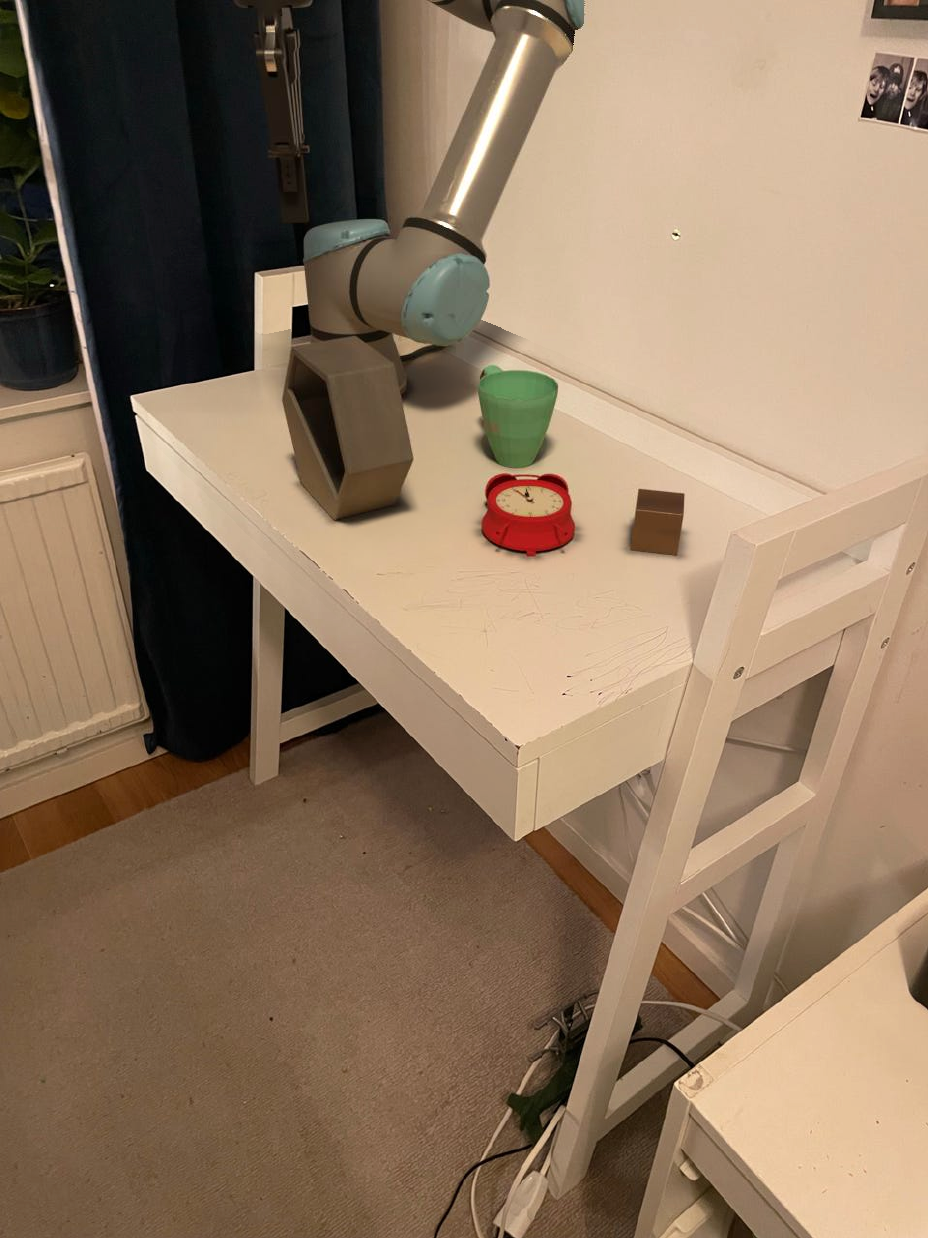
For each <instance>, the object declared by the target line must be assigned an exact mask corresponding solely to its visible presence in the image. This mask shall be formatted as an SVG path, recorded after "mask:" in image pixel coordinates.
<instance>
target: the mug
mask: <svg viewBox="0 0 928 1238" xmlns="http://www.w3.org/2000/svg"><path fill="white" fill-rule="evenodd" d="M477 383H478V384H477V395H478V401H479V406H480V413H481V417H482V421H483V427H484V429H485V432H486V436H487V440H488V443H489V445H490V448H491V451H492V453H493V455H494V458H495V461H496V463H497V464H499V465H501V466H502V467H505V468H511V469H512V468H513V469H520V468H525V467H529V466H531V465H532V464H533V462H534V461H535V459H536V458H537V455H538V453H539V451H540V449H541V447H542V445H543V442H544V440H545V438H546V435H547V432H548V429H549V428H550V427H549V426H550V424H551V420H552V417H553V413H554V409H555V406H556V402H557V398H558V392H559V383H558V382H557V381H556V379H554V378H552V377H551V376H549V375H547V374H545V373H541V372H538V371H531V370H523V369H508V370H503V369H502V368H501V367H499V365H496V364H490V365H488V366H485V367H484V368H483V369H482V371H481V373H480V376H479V380H478V382H477Z"/></svg>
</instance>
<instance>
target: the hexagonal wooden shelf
mask: <svg viewBox="0 0 928 1238" xmlns="http://www.w3.org/2000/svg"><path fill="white" fill-rule="evenodd" d="M289 352H290V353H289V358H288V364H287V369H286V375H285V381H284V386H283V393H282V398H281V402H282V406H283V411H284V415H285V419H286V424H287V428H288V433H289V436H290V441H291V446H292V449H293V454H294V458H295V462H296V467H297V472H298V475H299V480H300V484H301V485H302V486H303V487H304V489H305V490H306V491H307V492H308V493H309V494H310V495H311V496H312V497H313V499H314V500H315V501H316V502H317V503H318V504H319V505H320V506H321V508H323V510H324V511H325V512H326V513H327V514H328V515H329V516H330V518H332V520H334V521H335V520H339V519H344V518H348V517H352V516H355V515H360V514H363V513H367V512H371V511H375V510H379V509H383V508H387V507H391V506H394V505H395V504H396V503H397V500H398V498H399V495H400V493H401V491H402V488H403V487H404V484H405V481H406V479H407V477H408V475H409V471H410V469H411V467H412V465H413V462H414V454H413V449H412V444H411V439H410V434H409V433H410V432H409V429H408V425H407V419H406V415H405V414H406V413H405V409H404V405H403V399H402V395H401V394H400V389H399V384H398V379H397V374H396V369H395V365H394V363H393V362H391V361H390V360H388V359H387V358H386V357H384V356H383V355H381V354H380V353H379V352H377V351H376V350H374V349H373V348H372V347H370V346H369V345H368V344H366V343H365V342H363V341H362V340H361V339H359V338H358V337H356V336H351V337H345V338H340V339H334V340H328V341H322V342H316V343H310V342H309V343H305V344H298V345H293V346H291V348H290V351H289Z"/></svg>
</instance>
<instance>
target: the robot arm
mask: <svg viewBox="0 0 928 1238" xmlns="http://www.w3.org/2000/svg"><path fill="white" fill-rule="evenodd" d="M233 1H234V4H235V5H236V6H237V7H239V8H243V9H244V8H245V9H257V11H258V29H257V30H254V31H253V39H254V47H255V54H254V55H255V59H256V62H257V67H258V71H259V75H260V82H261V89H262V96H263V102H264V108H265V115H266V122H267V129H268V136H269V150H267V154H266V155H267V158H268V159H269V158H275V166H276V167H275V168H276V176H277V184H278V194H279V204H280V213H281V222H282V224H296V223H297V224H307V223H308V222H309V221H310V217H309V215H310V214H309V205H308V194H307V185H306V184H307V183H306V172H305V163H304V161H305V160H304V154H308V153H310V145H309V144H308V145H304V143H305V134H304V125H303V108H302V94H301V93H302V91H301V67H300V56H299V55H300V54H299V53H300V51H299V49H300V47H301V38H300V30H299V28H294V27H293V21H292V20H293V19H292V13H291V10H290V9H296V8H299V9H300V8H307V7H310V6H311V5H312V3H313V0H233ZM427 1H428V2H429V3H431V4H433V5H435V6H436V7H438V8H440V9H442V10H443V11H445V12H446V13H449V14H450V15H453V16H454V17H456V18H458V19H460V20H462V21H463V22H465V23H467V24H469V25H471V26H474V27H476V28H478V29H481V30H483V31H486V32H490V33H492V34H493V36H494V39H495V40H494V42H493V44H492V47H491V49H490V52H489V54H488V56H487V58H486V61H485V63H484V65H483V68H482V70H481V72H480V75H479V77H478V79H477V82H476V84H475V86H474V89H473V92H472V93H471V96H470V98H469V100H468V103H467V105H466V107H465V110H464V112H463V115H462V116H461V119H460V121H459V124H458V126H457V129H456V131H455V133H454V136H453V138H452V140H451V142H450V145H449V147H448V150H447V152H446V154H445V156H444V159H443V162H442V164H441V166H440V168H439V170H438V173H437V175H436V177H435V180H434V182H433V185H432V187H431V189H430V192H429V194H428V196H427V198H426V201H425V202H424V206H423V208H422V210H420V211H418V212H415V213H412V214H410V215H407V216H406V218H405V220H404V222H403V224H402V227H401V229H400V231H399V233H398V235H397V238H396V239H395V238H391V237H390V236H391V230H390V228H389V224H388V223H387V222H386V221H385V220H383V219H379V218H378V219H377V218H363V219H362V218H361V219H348V220H341V221H334V222H329V223H325V224H321V225H316V226H314V227H312V228H310V229H309V230H307V232H306V233H305V236H304V237H303V259H302V263H303V268H304V277H305V278H304V279H305V287H306V289H305V290H306V298H307V299H306V300H307V307H308V308H307V309H308V317H309V319H308V320H309V327H310V342H309V344H310V343H316V342H322V341H328V340H334V339H340V338H345V337H351V336H356V337H358V338H359V339H361V340H362V341H363V342H365V343H366V344H368V345H369V346H370V347H372V348H373V349H374V350H376V351H377V352H379V353H380V354H381V355H383V356H384V357H386V358H387V359H388V360H390V361H391V362H393V363H394V365H395V369H396V374H397V379H398V384H399V389H400V394H401V396H402V395H404V394H405V392H406V390H407V385H408V384H407V374H406V369H405V367H404V366H403V363H405V362H409V361H411V360H414V359H416V358H418V357H420V356H421V355H424V354H427V353H431V352H437V351H439V350H442V349H444V348H445V347H449V346H453V345H455V343H459V342H462V341H463V340H464V339H466V338H467V337H469V335H470V334H472V332H473V331H474V330H475V329H476V327H477V326H478V324H479V323H480V322H481V320H482V318H483V316H484V314H485V313H486V310H487V306H488V304H489V300H490V293H488V292H487V291H488V290H489V289H490V286H491V283H490V281H491V280H490V275H489V272H488V270H487V267H486V266H485V264H486V262H487V260H488V255H487V252H486V249H485V247H484V244H483V240H484V238H485V235H486V234H487V233H486V232H487V230H488V228H489V226H490V223H491V221H492V219H493V217H494V214H495V212H496V210H497V208H498V205H499V203H500V200H501V198H502V196H503V193H504V191H505V189H506V186H507V184H508V182H509V179H510V177H511V175H512V174H513V170H514V168H515V166H516V163H517V161H518V159H519V156H520V154H521V152H522V150H523V147H524V145H525V143H526V140H527V138H528V136H529V134H530V131H531V128H532V126H533V124H534V122H535V119H536V117H537V115H538V113H539V110H540V108H541V106H542V103H543V101H544V99H545V96H546V95H547V92H548V89H549V87H550V85H551V82H552V81H553V78H554V75H555V73H557V72H556V71H557V70H558V69H559V68H560V67H561V66H562V65H563V64H564V62H565V61H566V60H567V58H568V57H569V55H570V54H571V53H572V51H573V45H574V44H573V43H574V36H575V35H574V34H575V30H578V29H580V28H581V27H582V26H583V24H584V15H585V14H584V6H585V5H584V4H585V3H584V2H585V1H584V0H427ZM547 18H548V19H547ZM565 34H566V35H565ZM394 335H397V336H399V337H403V338H405V339H409V340H411V341H413V342H415V343H417V344H424V345H426V346H423V347H419V348H417V349H416V350H414V351H412V352H410V353H407V354H403V355H400V352H399V350H398V347H397V345H396V344H397V343H396V342H395V339H394Z"/></svg>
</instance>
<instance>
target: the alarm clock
mask: <svg viewBox="0 0 928 1238" xmlns="http://www.w3.org/2000/svg"><path fill="white" fill-rule="evenodd" d="M522 477H524V478H522ZM525 477H527V478H525ZM528 477H530V478H528ZM518 478H520V479H518ZM531 478H535V479H531ZM536 478H537V479H536ZM484 495H485V499H486V501H487V509H486V512H485V514H484V515H483V517H482V519H481V531H482V533H483V534H484V536H485V537H486V538H487V539H488V540H490V541H491V542H492V543H494V544H496V545H497V546H501V547H503V548H506V549H510V550H514V551H520V552H526V557H536V552H542V551H548V550H552V549H556V548H558V547H561V546H563V545H565V544H566V543H568V542H570V541H571V539H572V538H573V537H574V535H575V532H576V524H575V520H574V518H573V517H572V506H573V501H572V498H571V494H570V491H569V485H568V482H567V481H566V480H565V479H564V478H563V477H562V476H560V475H558V474H555V473H544V474H541V475H539V474H538V475H537V474H529V473H528V474H526V473H525V474H522V473H521V474H510V473H507V472H504V473H499V474H498V473H497V474H495V475H493V476H492V477H490V479H489V480H488V482H487V483H486V486H485V490H484Z"/></svg>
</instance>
